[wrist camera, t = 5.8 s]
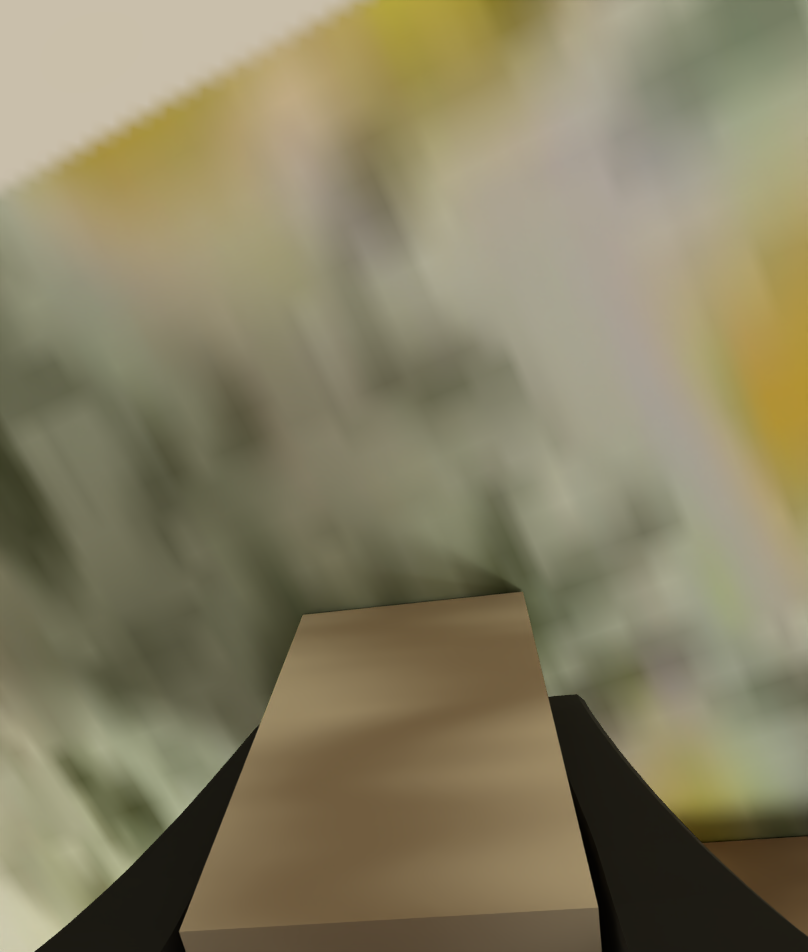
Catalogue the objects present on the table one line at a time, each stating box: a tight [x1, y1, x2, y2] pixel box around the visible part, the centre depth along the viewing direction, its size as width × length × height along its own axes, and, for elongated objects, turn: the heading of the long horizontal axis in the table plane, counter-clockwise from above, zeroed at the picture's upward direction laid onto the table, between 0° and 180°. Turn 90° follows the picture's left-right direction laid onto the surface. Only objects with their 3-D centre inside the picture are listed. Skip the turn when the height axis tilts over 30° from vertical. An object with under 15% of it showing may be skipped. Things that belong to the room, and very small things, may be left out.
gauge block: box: [179, 592, 602, 952], centre depth 9 cm, size 4×4×7 cm
